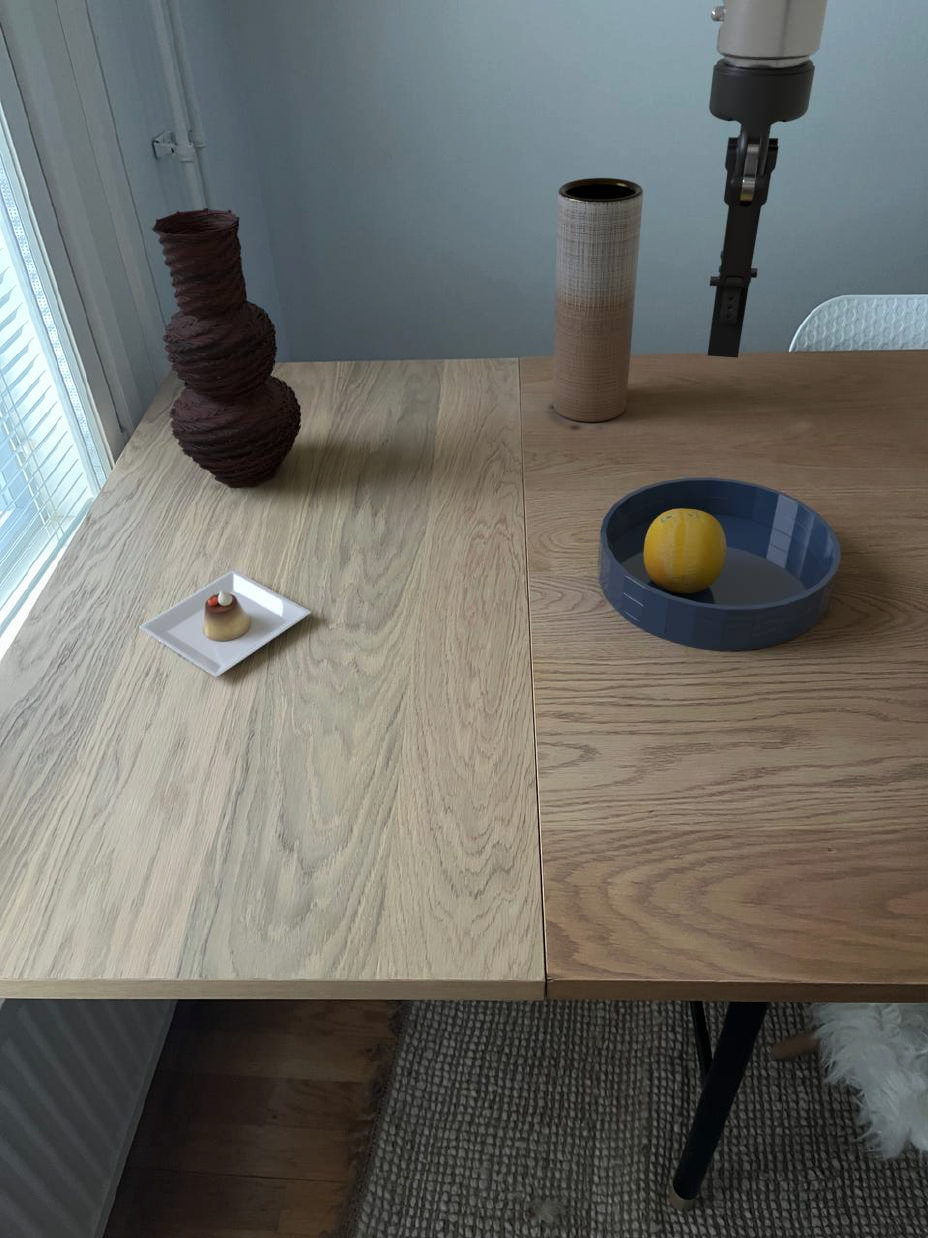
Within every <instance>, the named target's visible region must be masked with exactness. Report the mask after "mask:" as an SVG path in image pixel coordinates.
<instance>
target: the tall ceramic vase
mask: <svg viewBox="0 0 928 1238" xmlns="http://www.w3.org/2000/svg"><path fill="white" fill-rule="evenodd" d="M643 201H644V189H643V187H642V186H641V185H640V184H639V183H636V182H634V181H631V180H627V179H622V178H613V177H590V178H579V179H575V180H572V181H569V182H566V183H564V184H563V185H561V186H560V187H559V188H558V191H557V216H556V217H557V219H556V221H557V222H556V254H555V255H556V257H555V259H556V260H555V293H554V297H555V298H554V332H553V367H552V369H553V370H552V374H553V375H552V408H553V409H554V411H555V412H556V413H557V414H558V415H559V416H561V417H563V418H565V419H567V420H568V419H569V420H571V421H575V422H580V423H581V422H583V423H599V422H605V421H609V420H613V419H615V418H617V417H619V416H620V415H621V414H623V412H625V410H626V406H627V400H628V387H629V375H630V365H631V364H630V362H631V350H632V338H633V328H634V327H633V326H634V313H635V301H636V287H637V275H638V263H639V250H640V241H641V240H640V239H641V227H642V226H641V225H642V215H643V203H644V202H643Z"/></svg>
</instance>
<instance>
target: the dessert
mask: <svg viewBox="0 0 928 1238" xmlns="http://www.w3.org/2000/svg"><path fill="white" fill-rule="evenodd" d="M311 612H312V611H310V610H309V609H307V608H305V607H303V606H301V605H299V604H298V603H297V602H294V601H292V600H290V599H289V598H287V597H285V596H284V595H281V594H279V593H278V592H276V591H275V590H272V589H270V588H269V587H266V586H265V585H263V584H261V583H259V582H258V581H255V580H254V579H252V578H250V577H248V576H246V575H244V574H242V573H241V572H239V571H237V570H235V569H232V570H230V571H228V572H226V573H225V574H223V575H221V576H220V577H218V578H216V579H214V580H213V581H212V582H210V583H209V584H207V585H205V586H203V587H202V588H200V589H198V590H196V591H195V592H194V593H191V594H190V595H189V596H187V597H185V598H183V599H182V600H181V601H178V602H177V603H175V604H174V605H172V606H171V607H169V608H167V609H166V610H164V611H162V612H161V613H159V614H158V615H155V616H154V617H153V618H151V619H149V620H147V621H146V622H144V623H143V624H142V623H141V625H139V626H138V628H139V629H140V630H141V631H143V632H144V633H146V634H148V635H149V636H151V637H152V638H154V639H156V640H157V641H159V642H161V643H162V644H163V645H164V646H166V647H168V648H169V649H171V650H173V651H174V652H176V653H178V655H180V656H181V657H183V658H185V659H187V660H188V661H190V662H191V663H193V664H195V665H196V666H198V667H199V668H200V669H202V670H204V671H205V672H207V673H208V674H210V675H211V676H213V677H214V678H217V677H219V676H221V675H222V674H224V673H225V672H227V671H228V670H230V669H231V668H233V667H235V666H236V665H237V664H238V663H240V662H242V661H243V660H244V659H246V658H248V657H249V656H250V655H252V654H253V653H255V652H256V651H258V650H259V649H260V648H262V647H263V646H265V645H267V643H270V641H272V640H273V639H275V638H277V637H278V636H280V635H281V634H283V633H284V632H285V631H286V630H288V629H289V628H292V627H293V626H294V625H296V624H297V623H298V622H300V621H301V620H303V619H304V618H306V617H307V616H308V615H310V614H311Z"/></svg>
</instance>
